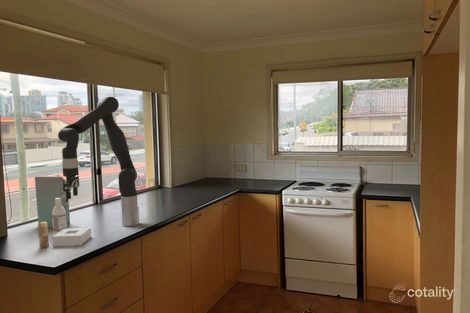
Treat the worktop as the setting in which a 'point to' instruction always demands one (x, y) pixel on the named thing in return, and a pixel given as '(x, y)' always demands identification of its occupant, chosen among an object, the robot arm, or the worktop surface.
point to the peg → (43, 234)
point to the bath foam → (58, 217)
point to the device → (50, 197)
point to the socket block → (71, 237)
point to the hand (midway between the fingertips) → (72, 197)
